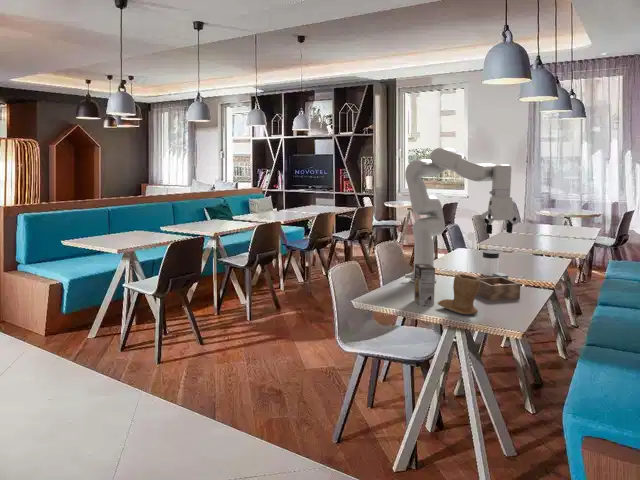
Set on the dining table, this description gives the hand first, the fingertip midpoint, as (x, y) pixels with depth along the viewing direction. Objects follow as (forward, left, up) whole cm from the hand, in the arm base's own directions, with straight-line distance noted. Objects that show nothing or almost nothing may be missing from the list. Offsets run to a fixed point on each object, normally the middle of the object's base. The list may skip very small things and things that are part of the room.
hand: (499, 233), depth 233 cm
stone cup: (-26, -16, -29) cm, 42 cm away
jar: (+22, +41, -28) cm, 55 cm away
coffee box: (-35, -1, -28) cm, 45 cm away
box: (0, 0, -28) cm, 28 cm away
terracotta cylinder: (+3, +3, -28) cm, 28 cm away
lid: (+14, +19, -29) cm, 37 cm away
